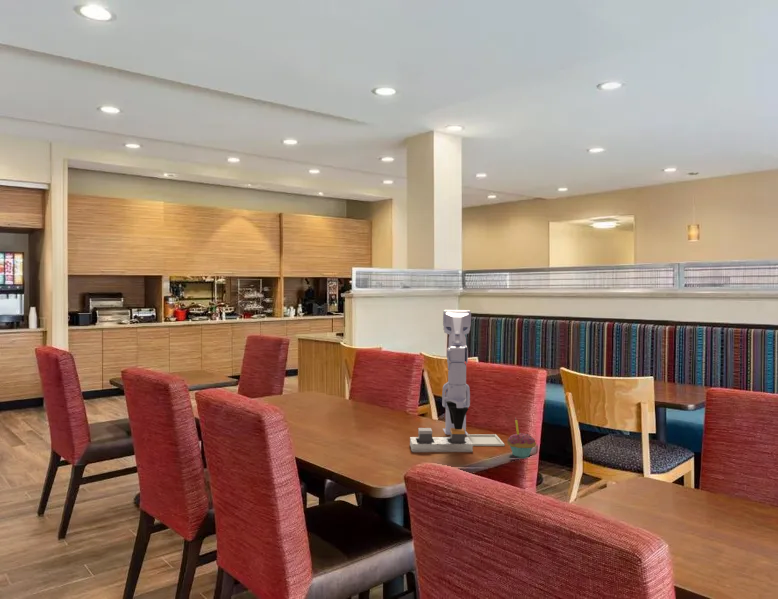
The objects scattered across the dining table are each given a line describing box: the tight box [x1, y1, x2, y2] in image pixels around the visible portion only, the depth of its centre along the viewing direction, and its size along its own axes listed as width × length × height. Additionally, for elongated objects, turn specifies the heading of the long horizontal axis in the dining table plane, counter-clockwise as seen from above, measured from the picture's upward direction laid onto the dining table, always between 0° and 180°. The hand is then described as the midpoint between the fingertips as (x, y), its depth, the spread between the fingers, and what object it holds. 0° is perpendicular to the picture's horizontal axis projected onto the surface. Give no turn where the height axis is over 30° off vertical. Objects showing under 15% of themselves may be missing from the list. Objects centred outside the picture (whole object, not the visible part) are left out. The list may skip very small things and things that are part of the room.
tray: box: [465, 433, 505, 447], centre depth 205 cm, size 13×10×1 cm
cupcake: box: [506, 417, 537, 460], centre depth 188 cm, size 9×8×12 cm
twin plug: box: [417, 427, 433, 443], centre depth 195 cm, size 4×4×6 cm
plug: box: [449, 428, 466, 443], centre depth 195 cm, size 4×4×6 cm
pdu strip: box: [409, 436, 474, 453], centre depth 195 cm, size 9×19×3 cm, turn 92°
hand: (456, 426), depth 195 cm, fingers open, 7 cm apart
